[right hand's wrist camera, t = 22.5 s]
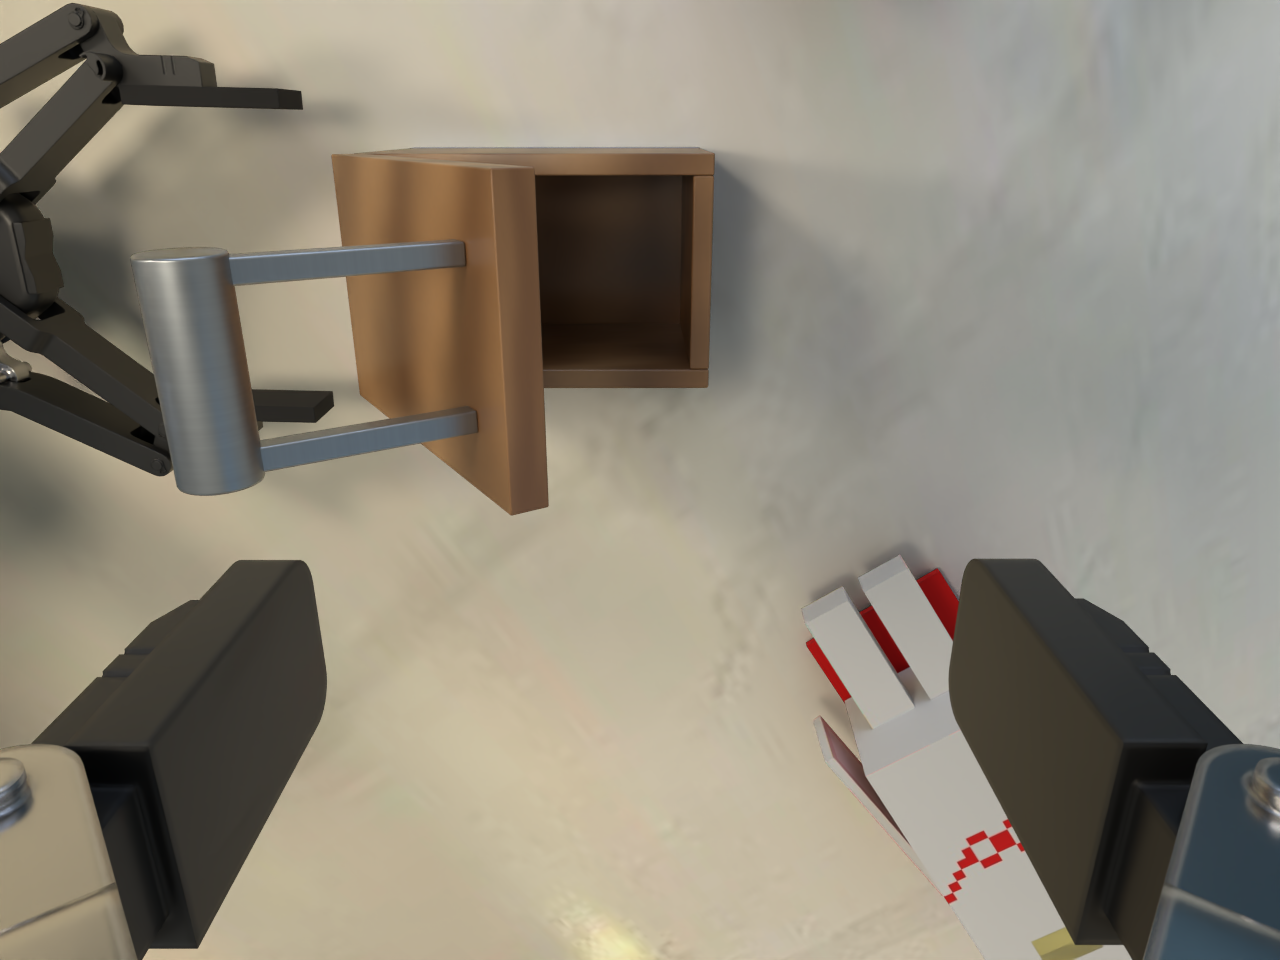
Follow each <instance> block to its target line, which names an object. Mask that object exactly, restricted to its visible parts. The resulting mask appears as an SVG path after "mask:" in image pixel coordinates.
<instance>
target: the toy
mask: <svg viewBox="0 0 1280 960" xmlns="http://www.w3.org/2000/svg"><path fill="white" fill-rule="evenodd" d="M858 580H859V582H860V584H861V587H862V589H863V591H864V593H865V595H866V596H867V598H868V600H869V601H870V603H871V604H872V606H870V607H868V608H866V609H865V610H863V611H861V612H859V611H858V610H857V608H856V606H855V605H854V603H853V602H852V600H851V599H850V597H849V595H848V594H847V592H846V591H845V589H844V587H843V586H842V587H840V588H838V589H836V590H834V591H832V592H831V593H829V594H827V595H825V596H823V597H822V598H820V599H818V600H816V601H814V602H812V603H811V604H809V605H807V606H805V607H803V608H801V609H802V613H803V617H804V622H805V625H806V626H807V628H808V629H809V631H810V632H811V634H812V636H813V637H814V638H813V639H811V640H810V641H808V642H806V645H807V647H808V649H809V650H810V652H811V653H812V655H813V656H814V658H815V659H816V661H817V662H818V664H819V665H820V667H821V668H822V670H823V671H824V673H825V674H826V676H827V677H828V679H829V680H830V682H831V683H832V685H833V686H834V688H835V689H836V691H837V692H838V694H839V695H840V697H841V698H842V700H843V701H844V703H845V705H846V708H847V712H848V715H849V719H850V722H851V726H852V730H853V733H854V737H855V740H856V744H857V747H858V751H859V755H860V758H861V762H862V763H861V762H860V761H859V760H858V759H857V758H856V756H855V755H854V754H853V753H852V752H851V751H850V750H849V748H848V747H847V746H846V745H845V744H844V743H843V741H842V740H841V739H840V738H839V737H838V736H837V734H836V733H835V732H834V731H833V730H832V729H831V727H830V726H829V725H828V724H827V723H826V722H825V721H824V719H823V718H822V717H821V716H818V717H817V718H815V719H814V720H813V723H814V726H815V730H816V733H817V736H818V740H819V743H820V746H821V750H822V753H823V756H824V760H825V763H826V764H827V765H828V766H829V767H830V768H831V769H832V771H833V772H834V773H835V774H836V775H837V776H838V777H839V779H840V780H841V781H842V782H843V783H844V784H845V785H846V787H847V788H848V789H849V790H850V791H851V792H852V793H853V795H854V796H855V797H856V798H857V799H858V800H859V801H860V803H861V804H862V805H863V806H864V807H865V808H866V809H867V811H868V812H869V813H870V814H871V815H872V816H873V817H874V819H875V820H876V821H877V822H878V823H879V824H880V825H881V827H882V828H883V829H884V830H885V831H886V832H887V833H888V835H889V836H890V837H891V838H892V839H893V840H894V841H895V843H896V844H897V845H898V846H899V847H900V848H901V849H902V851H903V852H904V853H905V854H906V855H907V856H908V857H909V859H910V860H911V861H912V862H913V863H914V864H915V865H916V867H917V868H918V869H919V870H920V871H921V872H922V873H923V875H924V876H925V877H926V878H927V879H928V880H929V881H930V883H931V884H932V885H933V886H934V887H935V888H936V889H937V891H938V892H939V893H940V894H941V895H943V896H944V898H945V899H946V901H947V902H948V904H949V905H950V907H951V908H952V910H953V911H954V913H955V914H956V916H957V918H958V919H959V921H960V922H961V924H962V925H963V927H964V928H965V930H966V931H967V933H968V934H969V936H970V938H971V939H972V941H973V942H974V944H975V945H976V947H977V948H978V950H979V951H980V953H981V954H982V956H983V958H984V959H985V960H1132V959H1131V957H1130V955H1129V953H1128V952H1127V950H1126V948H1125V947H1124V945H1075V944H1074V942H1073V940H1072V938H1071V936H1070V935H1069V933H1068V931H1067V929H1066V927H1065V925H1064V923H1063V921H1062V920H1061V918H1060V916H1059V914H1058V912H1057V910H1056V908H1055V906H1054V905H1053V903H1052V901H1051V899H1050V897H1049V895H1048V893H1047V891H1046V889H1045V888H1044V886H1043V884H1042V882H1041V880H1040V878H1039V876H1038V874H1037V873H1036V871H1035V869H1034V867H1033V865H1032V863H1031V861H1030V859H1029V858H1028V856H1027V854H1026V852H1025V850H1024V848H1023V846H1022V844H1021V843H1020V841H1019V839H1018V837H1017V835H1016V833H1015V831H1014V829H1013V827H1012V826H1011V824H1010V822H1009V820H1008V818H1007V816H1006V814H1005V812H1004V811H1003V809H1002V807H1001V805H1000V803H999V801H998V799H997V797H996V796H995V794H994V792H993V790H992V788H991V786H990V784H989V782H988V781H987V779H986V777H985V775H984V773H983V771H982V769H981V767H980V765H979V764H978V762H977V760H976V758H975V756H974V754H973V752H972V750H971V749H970V747H969V745H968V743H967V741H966V739H965V737H964V735H963V734H962V732H961V730H960V728H959V726H958V724H957V722H956V720H955V717H954V714H953V711H952V707H951V702H950V696H949V682H948V678H949V666H950V659H951V652H952V645H953V639H954V632H955V625H956V618H957V612H958V605H959V601H958V600H957V598H956V597H955V595H954V593H953V592H952V590H951V589H950V587H949V585H948V584H947V582H946V581H945V579H944V578H943V576H942V574H941V573H940V571H939V570H938V568H937V569H935V570H934V571H932V572H930V573H928V574H927V575H925V576H923V577H921V578H919V579H918V580H915V578H914V576H913V575H912V573H911V571H910V570H909V568H908V567H907V565H906V563H905V562H904V560H903V558H902V557H901V555H898V556H897V557H895V558H893V559H891V560H889V561H887V562H886V563H884V564H882V565H880V566H878V567H876V568H875V569H873V570H871V571H869V572H867V573H865V574H864V575H862V576H860V577H858Z"/></svg>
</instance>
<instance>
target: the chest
mask: <svg viewBox="0 0 1280 960" xmlns="http://www.w3.org/2000/svg"><path fill="white" fill-rule="evenodd" d="M355 154H371V155H384V156H397V157H410V158H423V159H436V160H449V161H462V162H475V163H488V164H501V165H514V166H527V167H534V169H535V191H536V215H537V239H538V263H539V287H540V311H541V335H542V359H543V383H544V388H707V387H708V378H709V370H708V368H709V342H710V306H711V270H712V234H713V199H714V176H713V175H714V165H715V154H714V153H711V152H708V151H705V150H703V149H700V148H698V147H579V148H410V149H399V150H388V151H377V152H366V153H355Z"/></svg>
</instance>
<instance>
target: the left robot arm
mask: <svg viewBox="0 0 1280 960" xmlns="http://www.w3.org/2000/svg"><path fill="white" fill-rule="evenodd" d="M123 32H124V28H123V23H122V21H121V19H120V18H119V17H118V15H117V14H115V13H114V12H112V11H108V10H104V9H100V8H95V7H90V6H86V5H81V4H75V3H70V4H67V5H65V6H64V7H62V8H60V9H58V10H57V11H55V12H53V13H52V14H50V15H48V16H47V17H45V18H43V19H42V20H40V21H38V22H37V23H35V24H33V25H31V26H30V27H28V28H26V29H25V30H23V31H21V32H20V33H18V34H16V35H15V36H13V37H11V38H10V39H8V40H6V41H5V42H3V43H1V44H0V108H2V107H4V106H5V105H7V104H9V103H11V102H12V101H14V100H16V99H17V98H19V97H21V96H23V95H24V94H26V93H28V92H30V91H31V90H33V89H35V88H36V87H38V86H40V85H42V84H43V83H45V82H47V81H49V80H50V79H52V78H54V77H55V76H57V75H59V74H61V73H62V72H64V71H66V70H68V69H69V68H71V67H73V66H74V65H76V64H78V63H80V62H81V61H83V60H85V59H87V60H86V61H85V62H84V63H83V64H82V65H81V66H80V67H79V68H78V70H77V71H76V72H75V73H74V74H73V75H72V76H71V77H70V78H69V79H68V80H67V82H66V83H65V84H64V85H63V86H62V87H61V88H60V89H59V90H58V91H57V92H56V94H55V95H54V96H53V97H52V98H51V99H50V100H49V101H48V102H47V103H46V104H45V105H44V107H43V108H42V109H41V110H40V111H39V112H38V113H37V114H36V115H35V116H34V117H33V119H32V120H31V121H30V122H29V123H28V124H27V125H26V126H25V127H24V128H23V129H22V131H21V132H20V133H19V134H18V135H17V136H16V137H15V138H14V139H13V140H12V141H11V142H10V144H9V145H8V146H7V147H6V148H5V149H4V150H3V151H2V152H1V153H0V410H7V411H12V412H15V413H17V414H19V415H21V416H24V417H26V418H28V419H30V420H32V421H35V422H37V423H39V424H41V425H44V426H46V427H48V428H50V429H53V430H55V431H57V432H59V433H62V434H64V435H66V436H68V437H70V438H73V439H75V440H77V441H79V442H82V443H84V444H86V445H88V446H91V447H93V448H95V449H97V450H100V451H102V452H104V453H106V454H108V455H111V456H113V457H115V458H117V459H120V460H122V461H124V462H126V463H129V464H131V465H133V466H135V467H138V468H140V469H142V470H144V471H146V472H149V473H151V474H153V475H156V476H165V475H167V474H168V473H170V472H171V471H172V470H173V465H172V460H171V455H170V450H169V446H168V441H167V436H166V431H165V426H164V421H163V416H162V411H161V407H160V402H159V397H158V392H157V387H156V382H155V377H154V374H152V373H151V372H150V371H148V370H147V369H145V368H144V367H143V366H141V365H140V364H139V363H137V362H136V361H135V360H133V359H132V358H131V357H129V356H128V355H126V354H125V353H124V352H122V351H121V350H120V349H118V348H117V347H116V346H114V345H113V344H112V343H110V342H109V341H107V340H106V339H105V338H103V337H102V336H101V335H99V334H98V333H97V332H95V331H94V330H93V329H91V328H90V327H88V326H87V325H86V324H85V323H84V318H83V316H82V315H81V314H80V313H78V312H77V311H76V310H74V309H73V308H72V307H70V306H69V305H67V304H66V303H65V302H63V301H62V300H61V299H59V298H58V297H57V295H58V290H59V288H61V287H64V284H63V279H62V274H61V270H60V268H59V266H58V264H57V262H56V259H55V257H54V255H53V231H52V227H51V222H50V218H44V217H43V215H42V214H41V212H40V211H39V209H38V208H37V207H36V206H35V204H36V203H37V202H38V201H39V200H40V199H41V198H42V197H43V196H44V195H45V194H46V193H47V192H48V191H49V189H50V188H51V187H52V186H53V185H54V184H55V182H56V180H55V177H56V176H57V175H58V174H59V172H60V171H61V170H62V169H63V168H64V167H65V166H66V165H67V164H68V163H69V162H70V161H71V160H72V159H73V158H74V157H75V156H76V155H77V154H78V152H79V151H80V150H81V149H82V148H83V147H84V146H85V145H86V144H87V143H88V142H89V141H90V140H91V139H92V138H93V137H94V136H95V135H96V134H97V132H98V131H99V130H100V129H101V128H102V127H103V126H104V125H105V124H106V123H107V122H108V121H109V120H110V119H111V118H112V117H113V116H114V115H115V113H116V112H117V111H118V110H119V109H120V108H121V107H122V106H123V105H124V104H127V105H150V106H185V107H222V108H260V109H298V110H303V105H302V96H301V91H295V90H286V89H272V88H234V87H217V82H216V75H215V68H214V64H213V63H211V62H208V61H206V60H204V59H201V58H195V57H188V56H161V55H138V54H136V53H135V52H133V51H132V49H131V48H130V47H129V46H128V44H127V42H126V40H125V38H124V36H123ZM37 317H39V318H40V319H41V320H35V319H36V318H37ZM10 339H11V340H12V341H13V342H15V343H16V344H18V345H19V346H20V347H22V348H23V349H25V350H27V351H30V352H34V353H39V354H42V355H43V356H45V357H46V358H48V359H49V360H50V361H52V362H53V363H55V364H56V365H57V366H59V367H60V368H62V369H63V370H64V371H66V372H67V373H69V374H70V375H71V376H73V377H74V378H75V379H77V380H78V381H80V382H81V383H82V384H84V385H85V386H87V387H88V388H89V389H91V390H92V391H94V392H95V393H96V394H98V395H99V396H101V397H102V398H103V399H105V400H106V401H108V402H109V403H108V402H106V401H104V400H101V399H99V398H97V397H95V396H93V395H90V394H88V393H86V392H84V391H82V390H80V389H77V388H75V387H73V386H71V385H69V384H66V383H64V382H62V381H60V380H57V379H55V378H52V377H50V376H47V375H43V374H40V373H34V372H31V370H32V368H31V365H30V364H29V363H27V362H21V361H19V360H17V359H14V358H12V357H10V356H9V355H8V354H7V353H6V352H5V350H4V347H3V343H5V342H7V341H9V340H10ZM252 395H253V401H254V407H255V414H256V420H257V426H258V431H259V430H260V429H261V428H262V427H263V422H262V421H265V422H307V423H316V422H317V421H318V420H319V419H320V418H321V417H323V416H324V415H325V414H326V413H327V412H328V411H329V410H330V409H331V408H332V407H334V400H333V391H295V390H254V389H252Z"/></svg>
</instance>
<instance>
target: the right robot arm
mask: <svg viewBox="0 0 1280 960" xmlns="http://www.w3.org/2000/svg"><path fill="white" fill-rule="evenodd" d="M948 682H949V696H950V702H951V707H952V711H953V714H954V717H955V720H956V722H957V724H958V726H959V728H960V730H961V732H962V734H963V735H964V737H965V739H966V741H967V743H968V745H969V747H970V749H971V750H972V752H973V754H974V756H975V758H976V760H977V762H978V764H979V765H980V767H981V769H982V771H983V773H984V775H985V777H986V779H987V781H988V782H989V784H990V786H991V788H992V790H993V792H994V794H995V796H996V797H997V799H998V801H999V803H1000V805H1001V807H1002V809H1003V811H1004V812H1005V814H1006V816H1007V818H1008V820H1009V822H1010V824H1011V826H1012V827H1013V829H1014V831H1015V833H1016V835H1017V837H1018V839H1019V841H1020V843H1021V844H1022V846H1023V848H1024V850H1025V852H1026V854H1027V856H1028V858H1029V859H1030V861H1031V863H1032V865H1033V867H1034V869H1035V871H1036V873H1037V874H1038V876H1039V878H1040V880H1041V882H1042V884H1043V886H1044V888H1045V889H1046V891H1047V893H1048V895H1049V897H1050V899H1051V901H1052V903H1053V905H1054V906H1055V908H1056V910H1057V912H1058V914H1059V916H1060V918H1061V920H1062V921H1063V923H1064V925H1065V927H1066V929H1067V931H1068V933H1069V935H1070V936H1071V938H1072V940H1073V942H1074V944H1075V945H1124V947H1125V948H1126V950H1127V952H1128V953H1129V955H1130V957H1131V959H1132V960H1280V749H1277V748H1272V747H1267V746H1260V745H1252V744H1243V743H1242V742H1241V741H1240V740H1239V739H1238V738H1237V737H1236V736H1235V735H1234V734H1233V733H1232V732H1231V731H1230V730H1229V729H1228V728H1227V727H1226V726H1225V725H1224V724H1223V723H1222V722H1221V721H1220V720H1219V719H1218V718H1217V717H1216V715H1215V714H1214V713H1213V712H1212V711H1211V710H1210V709H1209V708H1208V707H1207V706H1206V705H1205V704H1204V703H1203V702H1202V701H1201V700H1200V699H1199V698H1198V697H1197V696H1196V695H1195V694H1194V693H1193V692H1192V691H1191V690H1190V689H1189V688H1188V687H1187V686H1186V685H1185V684H1184V683H1183V682H1182V681H1181V680H1180V679H1179V678H1178V677H1177V676H1176V675H1171V673H1170V668H1169V667H1168V666H1167V665H1166V664H1165V663H1164V662H1163V661H1162V660H1161V659H1160V658H1159V657H1158V656H1157V655H1156V654H1155V653H1149V647H1148V646H1147V645H1146V644H1145V643H1144V642H1143V641H1142V640H1141V639H1140V638H1139V637H1138V636H1137V635H1136V634H1135V633H1134V632H1133V631H1132V630H1131V629H1130V628H1129V627H1128V626H1127V625H1126V624H1125V623H1124V621H1122V620H1120V619H1119V618H1117V617H1115V616H1113V615H1112V614H1110V613H1108V612H1106V611H1105V610H1103V609H1101V608H1099V607H1097V606H1096V605H1094V604H1092V603H1090V602H1089V601H1087V600H1085V599H1075V598H1074V597H1073V596H1072V595H1071V594H1070V593H1069V592H1068V591H1067V590H1066V589H1065V588H1064V587H1063V585H1062V584H1061V583H1060V582H1059V581H1058V580H1057V579H1056V578H1055V577H1054V576H1053V575H1052V574H1051V572H1050V571H1049V570H1048V569H1047V568H1046V567H1045V566H1044V565H1043V564H1042V563H1041V562H1040V561H1039V560H1037V559H972V560H971V561H970V562H969V563H968V564H967V566H966V568H965V571H964V574H963V579H962V585H961V591H960V598H959V605H958V612H957V618H956V625H955V632H954V639H953V645H952V652H951V659H950V666H949V678H948ZM326 690H327V673H326V665H325V659H324V652H323V645H322V639H321V632H320V626H319V619H318V612H317V606H316V599H315V592H314V586H313V580H312V576H311V572H310V570H309V567H308V566H307V564H306V563H305V562H304V561H302V560H239V561H237V562H235V563H234V564H233V565H232V566H231V567H230V568H229V569H228V570H227V571H226V572H225V573H224V574H223V575H222V576H221V578H220V579H219V580H218V581H217V582H216V583H215V584H214V585H213V586H212V587H211V588H210V589H209V590H208V591H207V593H206V594H205V595H204V596H203V597H202V598H201V599H200V600H190V601H188V602H187V603H185V604H183V605H181V606H180V607H178V608H176V609H174V610H172V611H171V612H169V613H167V614H165V615H164V616H162V617H160V618H158V619H157V620H155V621H153V622H151V623H150V624H149V625H148V626H147V627H146V628H145V629H144V630H143V631H142V632H141V633H140V634H139V635H138V636H137V637H136V638H135V639H134V640H133V641H132V642H131V643H130V644H129V645H128V646H127V647H126V648H125V654H124V655H119V656H118V657H117V658H116V659H115V660H114V661H113V662H112V663H111V664H110V665H109V666H108V667H107V668H106V669H105V670H104V671H103V676H102V677H97V678H96V679H95V680H94V681H93V682H92V683H91V684H90V685H89V686H88V687H87V688H86V689H85V690H84V691H83V692H82V693H81V694H80V695H79V696H78V697H77V698H76V699H75V700H74V701H73V702H72V703H71V704H70V705H69V706H68V707H67V708H66V709H65V710H64V711H63V712H62V713H61V714H60V715H59V716H58V717H57V718H56V719H55V720H54V721H53V722H52V723H51V724H50V725H49V726H48V727H47V728H46V729H45V730H44V731H43V732H42V733H41V734H40V736H39V737H38V738H37V739H36V740H35V741H34V742H33V743H32V744H28V745H20V746H13V747H8V748H3V749H0V960H142V959H143V957H144V956H145V954H146V952H147V951H148V949H198V947H199V945H200V943H201V941H202V940H203V938H204V936H205V934H206V932H207V930H208V929H209V927H210V925H211V923H212V921H213V919H214V917H215V916H216V914H217V912H218V910H219V908H220V906H221V904H222V903H223V901H224V899H225V897H226V895H227V893H228V891H229V890H230V888H231V886H232V884H233V882H234V880H235V878H236V877H237V875H238V873H239V871H240V869H241V867H242V865H243V864H244V862H245V860H246V858H247V856H248V854H249V852H250V851H251V849H252V847H253V845H254V843H255V841H256V839H257V838H258V836H259V834H260V832H261V830H262V828H263V826H264V825H265V823H266V821H267V819H268V817H269V815H270V813H271V812H272V810H273V808H274V806H275V804H276V802H277V800H278V799H279V797H280V795H281V793H282V791H283V789H284V787H285V786H286V784H287V782H288V780H289V778H290V776H291V774H292V773H293V771H294V769H295V767H296V765H297V763H298V761H299V760H300V758H301V756H302V754H303V752H304V750H305V748H306V747H307V745H308V743H309V741H310V739H311V737H312V735H313V734H314V732H315V730H316V728H317V726H318V724H319V722H320V720H321V717H322V714H323V710H324V705H325V699H326Z"/></svg>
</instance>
